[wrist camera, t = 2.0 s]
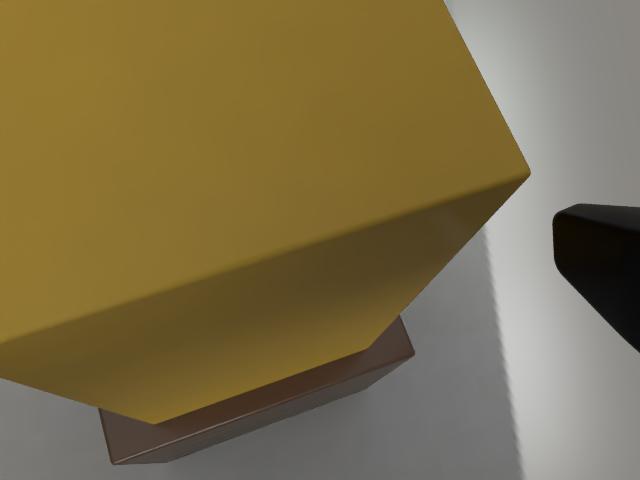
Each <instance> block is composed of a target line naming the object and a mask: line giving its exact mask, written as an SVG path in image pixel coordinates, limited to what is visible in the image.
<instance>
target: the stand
mask: <svg viewBox="0 0 640 480" xmlns="http://www.w3.org/2000/svg"><path fill="white" fill-rule="evenodd" d="M414 355H415V351H414V349H413V346H412V344H411V341H410V339H409V336H408V334H407V331H406V329H405V327H404V324H403V322H402V319H401V317H400V314H399V316H398V317H397V318H396V319H395V320H394V321H393V322H392V323H391V324H390V325H389V326H388V327H387V328H386V329H385V330H384V331H383V333H382V334H381V335H380V336H379V337H378V338H377V339H376V340H375V341H374V342H373V343H372V344H371V345H370V346H369V347H368V348H367V349H365V350H362V351H359V352H357V353H354V354H351V355H348V356H345V357H343V358H340V359H337V360H334V361H331V362H329V363H326V364H323V365H320V366H317V367H315V368H312V369H309V370H306V371H303V372H301V373H298V374H295V375H292V376H289V377H287V378H284V379H281V380H278V381H275V382H273V383H270V384H267V385H264V386H261V387H259V388H256V389H253V390H250V391H247V392H245V393H242V394H239V395H236V396H233V397H231V398H228V399H225V400H222V401H219V402H216V403H214V404H211V405H208V406H205V407H202V408H200V409H197V410H194V411H191V412H188V413H186V414H183V415H180V416H177V417H174V418H172V419H169V420H166V421H163V422H160V423H158V424H150V423H147V422H143V421H140V420H137V419H134V418H130V417H127V416H124V415H121V414H117V413H114V412H111V411H108V410H104V409H101V408H98V410H99V414H100V419H101V423H102V427H103V431H104V435H105V440H106V444H107V448H108V452H109V456H110V461H111V463H112V464H113V465H126V464H149V463H167V462H169V461H172V460H175V459H178V458H180V457H183V456H186V455H188V454H191V453H194V452H196V451H199V450H202V449H205V448H207V447H210V446H213V445H215V444H218V443H221V442H223V441H226V440H229V439H232V438H234V437H237V436H240V435H242V434H245V433H248V432H250V431H253V430H256V429H258V428H261V427H264V426H267V425H269V424H272V423H275V422H277V421H280V420H283V419H285V418H288V417H291V416H294V415H296V414H299V413H302V412H304V411H307V410H310V409H312V408H315V407H318V406H321V405H323V404H326V403H329V402H331V401H334V400H337V399H339V398H342V397H345V396H348V395H350V394H353V393H356V392H358V391H361V390H364V389H366V388H368V387H369V386H371V385H372V384H373V383H375V382H376V381H378V380H379V379H381V378H382V377H384V376H385V375H387V374H388V373H390V372H391V371H392V370H394V369H395V368H397V367H398V366H400V365H401V364H403V363H404V362H406V361H407V360H409V359H410V358H411V357H413V356H414Z"/></svg>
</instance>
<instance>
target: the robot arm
mask: <svg viewBox="0 0 640 480" xmlns="http://www.w3.org/2000/svg"><path fill="white" fill-rule="evenodd" d="M552 226H553V247H554V260H555V264H556V266H557V269H558V270H559V272H560V273H561V274H562V276H563V277H564V278H565V279H566V280H567V281H568V282H569V283H570V284H571V285H572V286H573V287H574V288H575V289H576V290H577V291H578V292H579V293H580V294H581V295H582V296H583V297H584V298H585V299H586V300H587V301H588V303H589V304H591V306H592V307H593V308H594V309H595V310H596V311H597V312H598V313H599V314H600V315H601V316H602V317H603V318H604V319H605V320H606V321H607V322H608V323H609V324H610V325H611V326H612V327H613V328H614V329H615V330H616V331H617V332H618V333H619V334H620V335H621V336H622V337H623V338H624V339H625V340H626V341H627V342H628V343H629V344H630V345H632V346H633V347H634V348H635V349H636V350H637V351H638V352H639V353H640V207H627V206H611V205H597V204H576V205H573V206H571V207H568V208H566V209H564V210H561V211H559V212H557V213H556V214H555V216H554V218H553V223H552Z"/></svg>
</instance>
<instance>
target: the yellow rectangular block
mask: <svg viewBox="0 0 640 480" xmlns="http://www.w3.org/2000/svg"><path fill="white" fill-rule="evenodd" d="M530 174H531V172H530V168H529V166H528V164H527V162H526V160H525V159H524V156H523V155H522V152H521V151H520V149H519V147H518V145H517V143H516V141H515V139H514V137H513V135H512V133H511V131H510V129H509V127H508V126H507V123H506V121H505V120H504V118H503V116H502V114H501V112H500V110H499V108H498V106H497V104H496V102H495V100H494V98H493V96H492V94H491V92H490V90H489V89H488V87H487V85H486V83H485V81H484V79H483V77H482V75H481V73H480V71H479V69H478V67H477V65H476V63H475V61H474V59H473V58H472V56H471V54H470V52H469V50H468V48H467V46H466V44H465V42H464V40H463V38H462V36H461V34H460V33H459V30H458V28H457V27H456V25H455V23H454V21H453V19H452V17H451V15H450V13H449V11H448V9H447V7H446V5H445V3H444V1H443V0H0V378H3V379H6V380H10V381H13V382H16V383H19V384H23V385H26V386H29V387H32V388H36V389H39V390H42V391H45V392H49V393H52V394H55V395H59V396H62V397H65V398H68V399H72V400H75V401H78V402H81V403H85V404H88V405H91V406H94V407H98V408H101V409H104V410H108V411H111V412H114V413H117V414H121V415H124V416H127V417H130V418H134V419H137V420H140V421H143V422H147V423H150V424H158V423H160V422H163V421H166V420H169V419H172V418H174V417H177V416H180V415H183V414H186V413H188V412H191V411H194V410H197V409H200V408H202V407H205V406H208V405H211V404H214V403H216V402H219V401H222V400H225V399H228V398H231V397H233V396H236V395H239V394H242V393H245V392H247V391H250V390H253V389H256V388H259V387H261V386H264V385H267V384H270V383H273V382H275V381H278V380H281V379H284V378H287V377H289V376H292V375H295V374H298V373H301V372H303V371H306V370H309V369H312V368H315V367H317V366H320V365H323V364H326V363H329V362H331V361H334V360H337V359H340V358H343V357H345V356H348V355H351V354H354V353H357V352H359V351H362V350H365V349H367V348H368V347H369V346H370V345H371V344H372V343H373V342H374V341H375V340H376V339H377V338H378V337H379V336H380V335H381V334H382V333H383V331H384V330H385V329H386V328H387V327H388V326H389V325H390V324H391V323H392V322H393V321H394V320H395V319H396V318H397V317H398V316H399V314H400V313H401V312H402V311H403V310H404V309H405V308H406V307H407V306H408V305H409V304H410V303H411V302H412V301H413V300H414V298H415V297H416V296H417V295H418V294H419V293H420V292H421V291H422V290H423V289H424V288H425V287H426V286H427V285H428V284H429V283H430V281H431V280H432V279H433V278H434V277H435V276H436V275H437V274H438V273H439V272H440V271H441V270H442V269H443V268H444V267H445V266H446V264H447V263H448V262H449V261H450V260H451V259H452V258H453V257H454V256H455V255H456V254H457V253H458V252H459V251H460V250H461V249H462V247H463V246H464V245H465V244H466V243H467V242H468V241H469V240H470V239H471V238H472V237H473V236H474V235H475V234H476V233H477V232H478V230H479V229H480V228H481V227H482V226H483V225H484V224H485V223H486V222H487V221H488V220H489V219H490V218H491V216H493V215H494V213H495V212H496V211H497V210H498V209H499V208H500V207H501V206H502V205H503V204H504V203H505V202H506V201H507V200H508V198H510V196H511V195H512V194H513V193H514V192H515V191H516V190H517V189H518V188H519V187H520V186H521V185H522V183H524V182H525V180H526V179H527V178H528V177H529V176H530Z"/></svg>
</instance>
